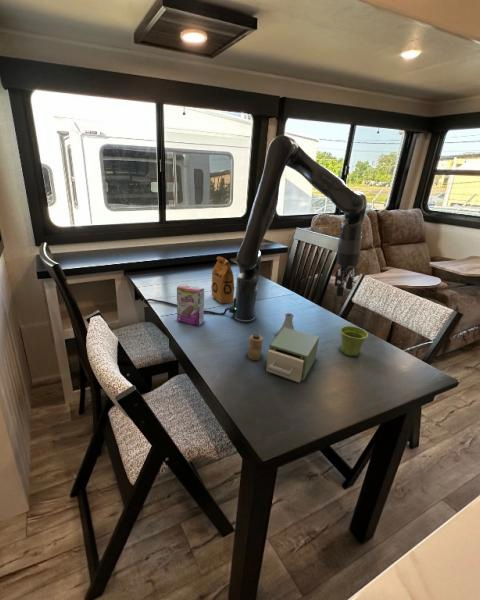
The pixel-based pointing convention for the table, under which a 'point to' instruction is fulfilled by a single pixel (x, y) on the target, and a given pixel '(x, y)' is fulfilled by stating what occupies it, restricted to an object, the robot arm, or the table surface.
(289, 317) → the flask
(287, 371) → the drawer
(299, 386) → the table surface
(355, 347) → the plant pot
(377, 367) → the table surface
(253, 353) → the pepper mill
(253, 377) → the table surface
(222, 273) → the coffee package
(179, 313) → the candy bar box
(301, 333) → the cabinet
